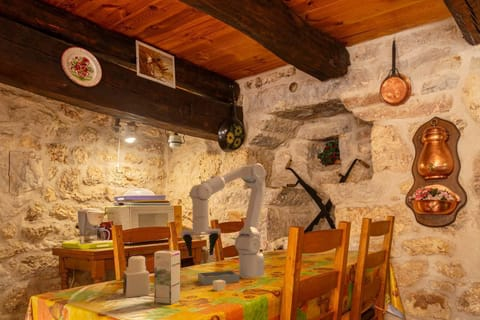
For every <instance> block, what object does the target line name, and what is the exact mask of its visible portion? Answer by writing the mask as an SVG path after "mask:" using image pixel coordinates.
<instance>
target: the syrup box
mask: <svg viewBox="0 0 480 320" xmlns="http://www.w3.org/2000/svg"><path fill="white" fill-rule="evenodd" d="M153 254H154V257H153V258H154V259H153V260H154V262H153V263H154V265H153V267H154V269H153V270H154V271H153V273H154V275H153V277H154V278H153V279H154V280H153V281H154V282H153V283H154V291H153V293H154V294H153V295H154V297H153V298H154V299H153V301H154V302H153V303H154V304H161V305H173V304H175V303H177V302H180V301H181V250H173V249H172V250H165V249H164V250H162V249H161V250H157V251H155V252H153Z"/></svg>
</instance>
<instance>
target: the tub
mask: <svg viewBox="0 0 480 320" xmlns="http://www.w3.org/2000/svg"><path fill="white" fill-rule="evenodd" d="M224 274H230V275H224ZM211 275H214V276H211ZM206 276H209V277H206ZM216 280H223V281H226V284H234V283H235V284H236V283H237V284H238V283H240V277H239V272H238V273H237V272H236V271H234V270H223V271H222V270H221V271H209V272H207V271H206V272H198V273H197V282H199V283H200V284H201V285H202V286H204V287H205V286H211V285H212V286H213V281H216Z"/></svg>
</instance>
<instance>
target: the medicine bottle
mask: <svg viewBox="0 0 480 320" xmlns="http://www.w3.org/2000/svg"><path fill="white" fill-rule="evenodd" d="M125 268H126V270H124V271H123V279H122V280H123V281H122V282H123V284H122V285H123V286H122V293H123V295H124V297H125V298H126V299H128V298H137V297H138V298H139V297H146V296H149V295H150V272H149V271H148V270H147V256H145V255H139V254H136V255H130V256H127V258H126V267H125Z"/></svg>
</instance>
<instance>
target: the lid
mask: <svg viewBox="0 0 480 320" xmlns="http://www.w3.org/2000/svg"><path fill="white" fill-rule="evenodd" d="M226 287H227V285H226V281H223V280H216V281H213V285H212V290H213V291H217V292H220V291H226V290H227V288H226ZM222 295H224V293H222V294H220V296H222Z"/></svg>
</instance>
